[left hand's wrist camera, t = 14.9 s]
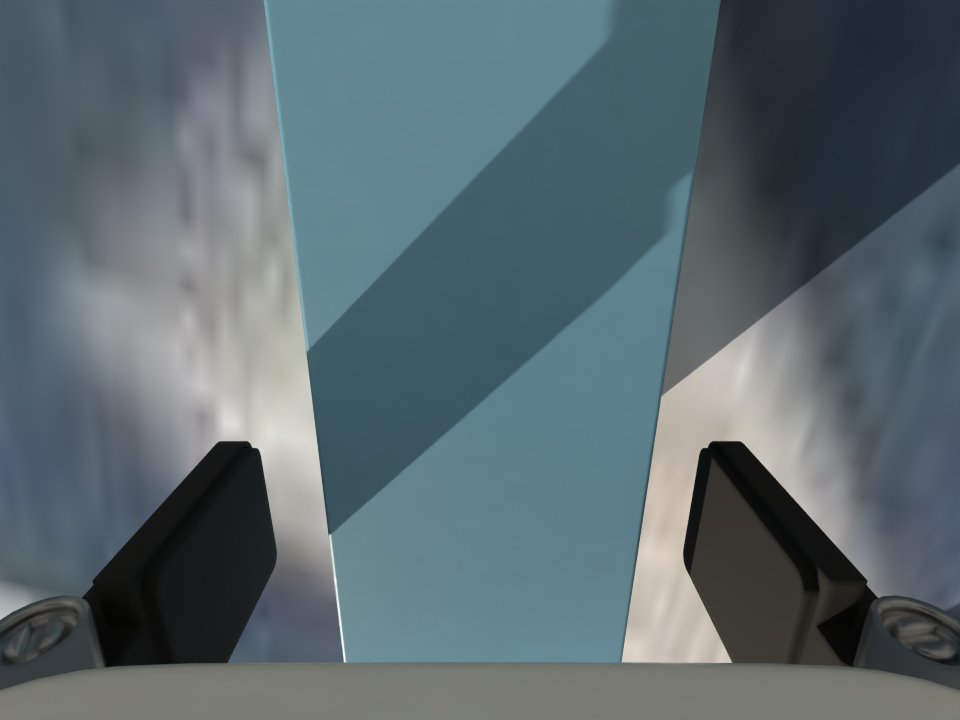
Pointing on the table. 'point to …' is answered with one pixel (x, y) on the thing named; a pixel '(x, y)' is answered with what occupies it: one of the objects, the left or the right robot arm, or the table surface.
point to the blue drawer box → (487, 304)
